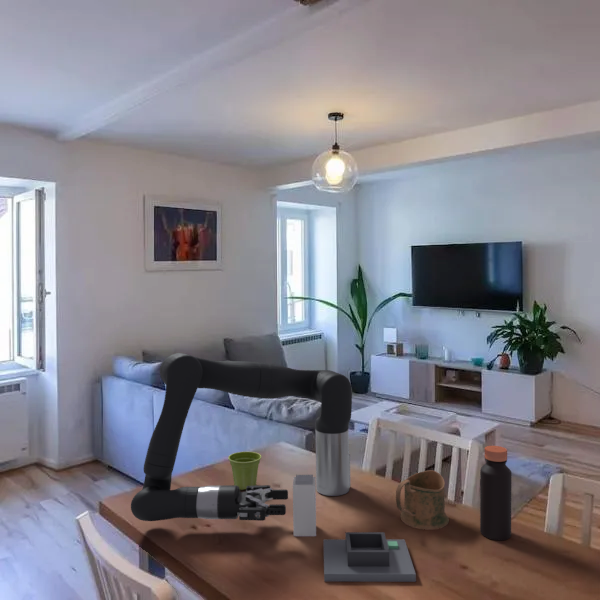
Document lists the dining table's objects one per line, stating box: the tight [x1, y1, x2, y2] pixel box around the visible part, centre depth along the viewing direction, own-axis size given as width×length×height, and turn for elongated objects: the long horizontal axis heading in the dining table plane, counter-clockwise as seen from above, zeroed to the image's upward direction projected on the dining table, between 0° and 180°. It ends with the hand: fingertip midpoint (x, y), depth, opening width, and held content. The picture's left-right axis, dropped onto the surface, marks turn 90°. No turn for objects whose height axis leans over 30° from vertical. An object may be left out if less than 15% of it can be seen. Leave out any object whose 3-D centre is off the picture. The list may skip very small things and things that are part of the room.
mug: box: [395, 469, 450, 531], centre depth 133 cm, size 12×18×12 cm, turn 137°
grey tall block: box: [292, 474, 317, 537], centre depth 130 cm, size 5×5×13 cm
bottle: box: [479, 445, 512, 541], centre depth 127 cm, size 7×7×20 cm
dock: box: [323, 531, 417, 583], centre depth 115 cm, size 18×14×4 cm
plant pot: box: [227, 451, 262, 491], centre depth 157 cm, size 9×9×9 cm
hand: (286, 501), depth 130 cm, fingers open, 8 cm apart
